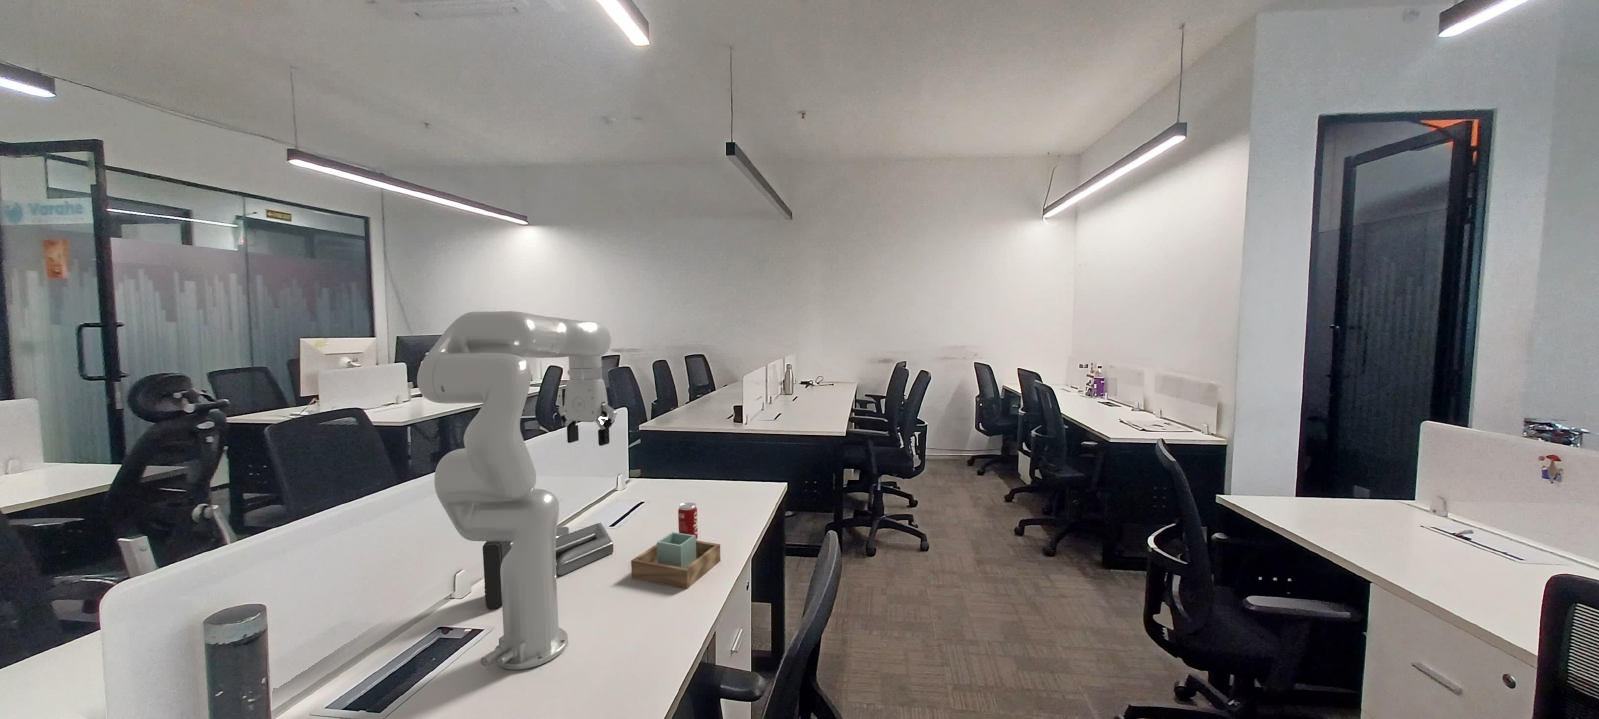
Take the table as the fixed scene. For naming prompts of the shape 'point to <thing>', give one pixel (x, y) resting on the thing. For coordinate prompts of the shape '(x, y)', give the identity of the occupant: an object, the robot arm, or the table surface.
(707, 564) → the walnut crate
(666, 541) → the small crate
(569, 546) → the emblem
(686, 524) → the soda can
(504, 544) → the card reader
